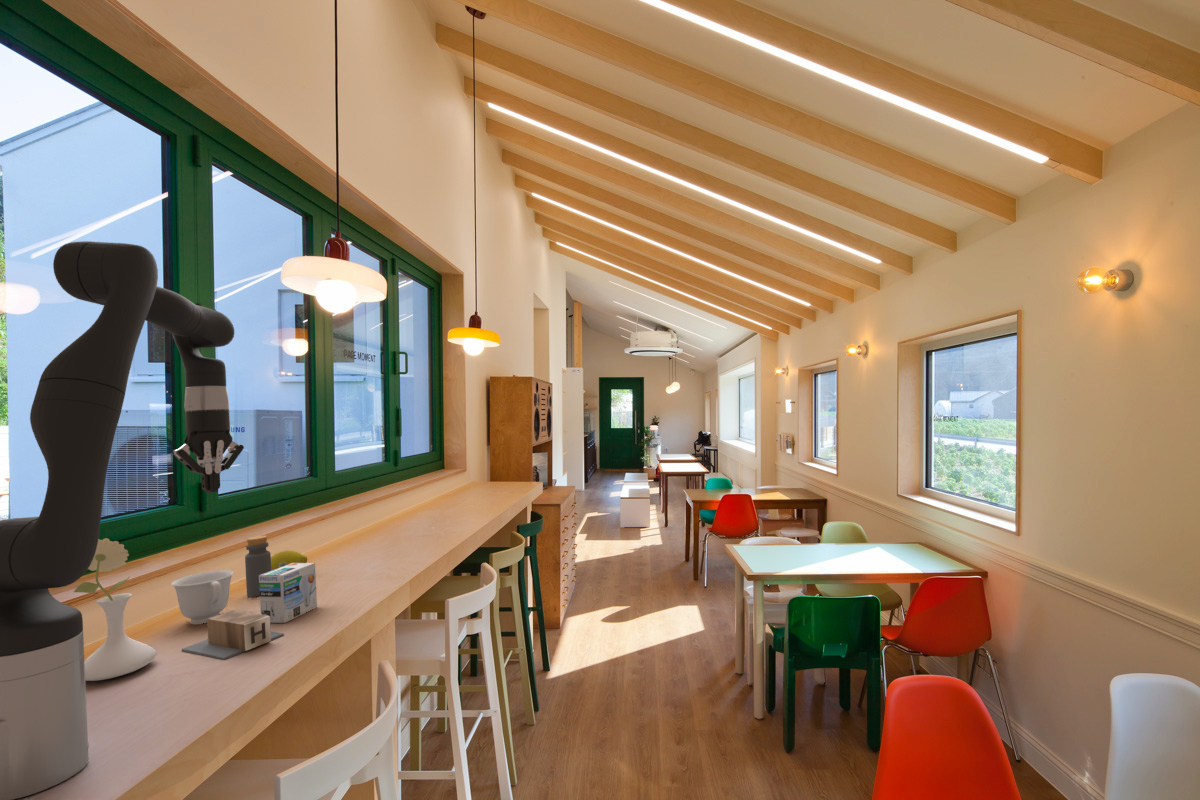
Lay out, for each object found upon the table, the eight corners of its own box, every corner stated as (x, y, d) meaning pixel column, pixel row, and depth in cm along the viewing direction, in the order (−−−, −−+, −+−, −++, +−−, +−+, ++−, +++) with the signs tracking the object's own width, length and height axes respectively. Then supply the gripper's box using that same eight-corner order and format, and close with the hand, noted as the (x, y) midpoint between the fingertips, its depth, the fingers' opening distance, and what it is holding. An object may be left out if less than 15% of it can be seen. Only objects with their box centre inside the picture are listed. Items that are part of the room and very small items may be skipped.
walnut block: (244, 624, 108) (207, 618, 114) (246, 650, 108) (208, 643, 114) (269, 615, 113) (232, 610, 118) (271, 640, 113) (233, 634, 118)
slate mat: (283, 635, 116) (283, 633, 116) (224, 659, 106) (224, 657, 106) (242, 628, 122) (242, 626, 123) (181, 650, 112) (181, 648, 112)
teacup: (187, 636, 120) (185, 589, 120) (165, 624, 129) (163, 580, 129) (249, 617, 129) (247, 574, 130) (225, 607, 138) (223, 567, 139)
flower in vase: (172, 657, 109) (166, 528, 109) (120, 685, 97) (113, 542, 98) (107, 661, 109) (101, 533, 110) (47, 690, 98) (41, 546, 98)
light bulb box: (285, 623, 124) (282, 575, 124) (259, 623, 125) (256, 575, 125) (318, 606, 134) (316, 561, 135) (294, 606, 136) (292, 562, 136)
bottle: (248, 593, 150) (245, 537, 151) (273, 588, 153) (270, 533, 153) (245, 598, 145) (242, 541, 145) (271, 594, 147) (268, 537, 148)
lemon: (260, 583, 159) (259, 555, 159) (275, 575, 167) (274, 549, 167) (299, 580, 160) (297, 552, 160) (312, 573, 167) (310, 546, 168)
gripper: (179, 408, 109) (183, 497, 108) (250, 407, 120) (254, 487, 119) (161, 411, 112) (165, 497, 112) (232, 409, 124) (236, 487, 123)
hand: (211, 492), depth 116 cm, fingers closed
